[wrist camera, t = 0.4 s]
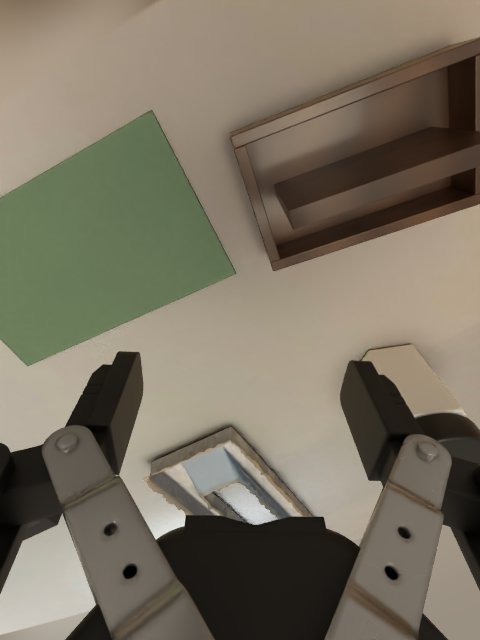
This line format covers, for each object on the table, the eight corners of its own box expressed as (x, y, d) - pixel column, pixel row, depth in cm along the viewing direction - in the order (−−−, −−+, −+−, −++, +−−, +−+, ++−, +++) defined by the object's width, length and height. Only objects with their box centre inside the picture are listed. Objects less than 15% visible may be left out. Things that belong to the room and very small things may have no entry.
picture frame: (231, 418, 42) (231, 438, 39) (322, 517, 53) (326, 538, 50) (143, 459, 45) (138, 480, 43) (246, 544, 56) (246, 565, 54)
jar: (334, 369, 38) (372, 466, 28) (403, 328, 36) (473, 418, 25) (374, 415, 42) (420, 515, 32) (439, 380, 39) (513, 477, 29)
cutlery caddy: (452, 44, 24) (558, 14, 16) (456, 190, 29) (539, 221, 21) (229, 132, 26) (229, 143, 19) (268, 253, 31) (281, 301, 24)
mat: (152, 110, 25) (151, 110, 25) (235, 272, 32) (235, 273, 32) (-88, 249, 30) (-90, 249, 30) (28, 365, 37) (27, 366, 37)
